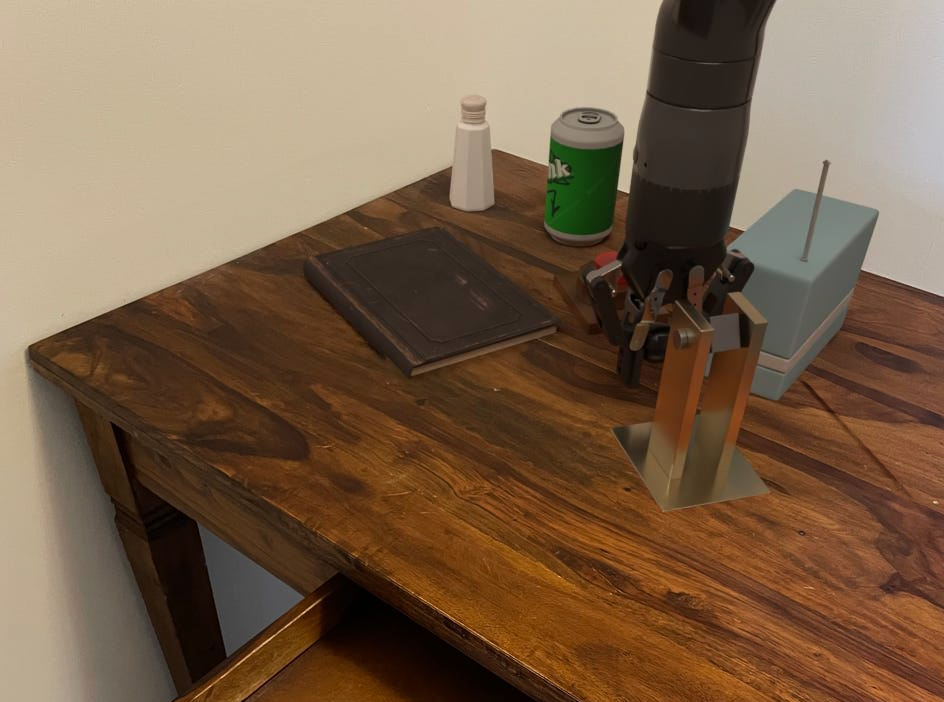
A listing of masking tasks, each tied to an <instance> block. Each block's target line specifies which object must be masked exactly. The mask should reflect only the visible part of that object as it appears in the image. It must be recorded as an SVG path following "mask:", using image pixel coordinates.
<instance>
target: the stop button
mask: <svg viewBox="0 0 944 702" xmlns="http://www.w3.org/2000/svg"><path fill="white" fill-rule="evenodd" d="M617 253H618V251H606V252H602V253H599V254H598V255H596V256H595V258H594V260H595V265H594V267H595V268H596V269H597V270H598V269H600V268H602V267H604V266H606V265H608V264H610V263H611V262H613V261H615V260H616V256H617ZM626 284H628V283H627V282H626V280H625V278H624V277H623V276H622V277H621V278H620V279H619V281H618V286H620V285H626Z"/></svg>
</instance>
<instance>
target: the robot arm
mask: <svg viewBox="0 0 944 702" xmlns="http://www.w3.org/2000/svg"><path fill="white" fill-rule="evenodd" d="M777 1H778V0H662V1H661V3H660V6H659V9H658V12H657V16H656V20H655V25H654V32H653V38H652V45H651V52H650V61H649V69H648V75H647V84H646V91H645V94H644V95H645V96H644V101H643V104H642V108H641V112H640V116H639V120H638V124H637V131H636V139H635V144H634V147H633V150H632V160H633V162H632V170H631V177H630V184H629V193H628V199H627V208H626V215H625V226H624V227H625V229H624V231H625V232H624V233H625V234H624V239H623V242H622V244H621V246H620V248H619V249H618V251H617V252H618V253H617V256H616V260H615V261H613V262H611V263H610V264H608V265H606V266H604V267H602V268H600V269H598V270H597V269H596V268H595V267H594V266H589V267H587V268H585V270H584V271H583V273H582V277H583V280H584V283H585V287H586V290H587V293H588V296H589V299H590V302H591V305H592V308H593V311H594V314H595V317H596V320H597V323H598V327H599V329H600V330H601V332H602V333H601V334H603V336H604V337H605V339H606V340H607V341H608V343H609V344H610V345H611V346H613V347H618V350H617V351H618V352H617V358H616V359H617V360H616V367H615V372H616V375H617V376H618V378H619V379H620V381H621V382H622V384H623V385H624V386H626V388H627V390H628V391H629V390H637V389H639V386H640V381H641V374H642V368H643V361H644V359H643V356H644V349H643V345H644V342H645V339H646V336H647V334H648V331H649V328H650V325H651V324H654V323H655V321H656V318H657V315H658V312H659V309H660V307H662V306H664V307H665V306H667V305H670V304H671V306H672V311H671V312H672V314H671V315H672V316H673V311H674V306H675V301H676V300H682V299H688V300H689V301H690V302H691V303H692V304H693V305H694V306H695V308H696V309H697V310H698V311H699V312H700V313H701V315H702V316H703V317H704V318H706V317H712V316H720V315H722V314H723V309H724V305H725V300H726V296H727V293H733V292H740V293H741V291H742V290H743V288H744V286H745V285H746V283H747V281H748V280H749V278H750V276H751V275H752V273H753V271H754V264H753V263H752V262H751V261H750V260H749V259H748V258H747V257H746V256H745V255H744V254H743V253H741V252H740V251H739V250H738V249H733V250H731V251H729V250H727V247H728V246H727V244H726V240H725V237H726V236H727V235H728V233H729V229H730V226H731V221H732V217H733V211H734V207H735V202H736V198H737V197H736V196H737V192H738V187H739V183H740V178H741V174H742V173H741V172H742V167H743V163H744V158H745V152H746V149H747V143H748V138H749V133H750V124H751V111H752V110H751V109H752V102H753V96H754V92H755V87H756V82H757V77H758V73H759V67H760V62H761V58H762V52H763V48H764V42H765V35H766V29H767V24H768V21H769V18H770V16H771V14H772V11H773V9H774V7H775V4H776V2H777ZM715 271H716V275H715V276H714V274H715ZM622 276H623V277H624V278H625V280H626V282H627V283H628V285H629V289H628V292H627V295H626V298H625V302H624V305H625V311H624V315H623V318H622V321H621V323H620V321H619V317H618V314H617V311H616V307H615V304H614V301H613V297H615V296H616V295H617V291H618V281H619V279H620V278H621V277H622ZM712 276H713V277H714V278H713V277H712ZM711 278H712V279H713V280H711V282H710V283H709V285H708V287H707V288H706V290H705V292H704V293H703V287H704V286H705V285H706V284H707V283H708V281H709V280H710V279H711ZM672 316H671V317H672ZM663 365H664V362H662V366H663Z"/></svg>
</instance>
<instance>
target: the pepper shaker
mask: <svg viewBox="0 0 944 702" xmlns="http://www.w3.org/2000/svg"><path fill="white" fill-rule="evenodd" d="M487 103H488V102H487V99H486V98H485V97H484V96H481V95H480V94H468V95H465V96H463V97H461V99H460V106H461V108H460V110H461V111H460V112H461V113H460V115H461V119H460V120H459V121H457V122H456V128H455V134H454V135H455V137H454V147H453V156H452V157H453V158H452V167H451V177H450V188H449V196H448V197H449V198H448V199H449V202H450V205H451V207H452V208H454V209H457V210H460V211H463V212H466V213H467V212H469V213H470V212H484V211H486V210H488V209H490V208H492V207H493V206H495V205H496V203H495V189H494V173H493V172H494V171H493V170H494V169H493V156H492V138H491V127H490V124H489V121H487V120H486V112H487V107H486V106H487Z"/></svg>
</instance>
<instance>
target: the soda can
mask: <svg viewBox="0 0 944 702" xmlns="http://www.w3.org/2000/svg"><path fill="white" fill-rule="evenodd" d="M549 137H550V138H549V152H548V163H547V180H546V192H545V205H544V206H545V208H544V220H543V221H544V222H543V227H544V229H545V230H546V232H547V233H548V234H549V235H550V236H551V238H552V239H553V240H555V242H558V243H560V244H563V245H565V246H571V247H590V246H594V245H597V244H599V243H600V242H602V241H603V240H604V238H606V237H607V236H609V235H610V233H611V232H612V231H613V229H614V220H615V213H616V205H617V197H618V189H619V181H620V179H619V178H620V173H621V165H622V157H623V147H624V141H625V127H624V126H623V124H622V123H621V122H620V121H619V119H618V116H617V114H616V113H614V112H612V111H610V110H607V109H604V108H600V107H593V106H591V107H590V106H580V107H573V108H570V109H569V108H568V109H566V110H564V111H562V112H561V113H560V114H559V117H558V118H556V119H555V120H554V121H553V122H552V124H551V125H550V136H549Z"/></svg>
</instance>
